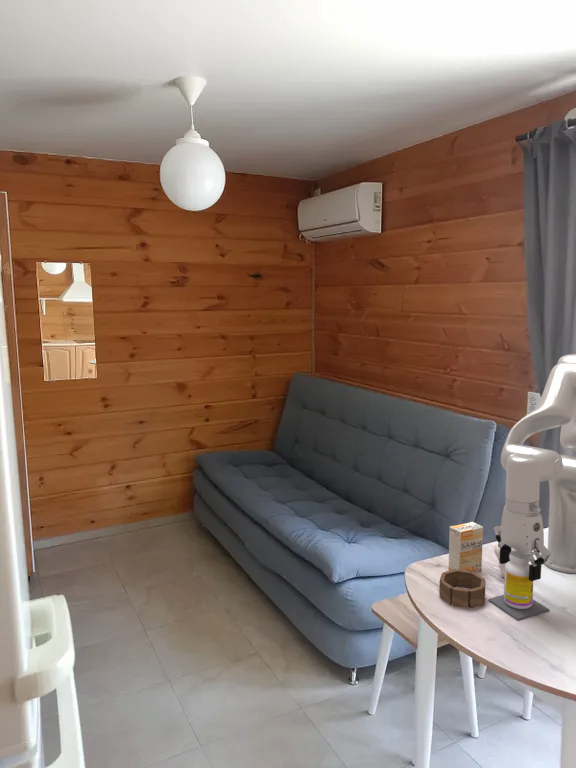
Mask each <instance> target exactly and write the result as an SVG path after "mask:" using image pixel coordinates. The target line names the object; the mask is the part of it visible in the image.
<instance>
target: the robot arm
mask: <svg viewBox="0 0 576 768" xmlns="http://www.w3.org/2000/svg"><path fill="white" fill-rule="evenodd" d="M542 391H543V392H542V394H541V397H540V399H539V403H538V406H537V408H536V409H534V410H532V411H531V412H529V413H528V414H526V415H525V416H524V417H522V418H521V419H520V420H519V421H517V422H516V423H515V424H514V425H513V426H512V427H511V429H510V431H509V432H508V434H507V437H506V439H505V442H504V445H503V448H502V450H501V455H500V465H501V467H502V468H503V469H504V471H506V475H505V476H506V479H505V482H506V483H505V502H504V503H505V504H504V506H503V511H502V515H501V516H502V517H501V522H500V525H496V526H494V527H493V531H494V534H495V539H496V542H497V541H498V547H499V548H500V563H501V564H504V563H507V562H508V561H510V558H509V555H510V552H511V548H513V549H515V550H517V551H519V552H521V553H523V554H525V555H527V556H528V558H529V560H530V561H529V563H530V565H529V580H530V581H533V582H534V581H538V580H541V578H542V566H543V565H545V566H546V567H548V568H550V569H552V570H555V571H557V572H563V573H566V574H567V573H568V574H576V456H575V455H569V454H568V455H567V454H559V453H558V452H557V451H555V450H551V449H547V448H541V447H536V446H530V445H525V444H524V443H525V441H526V440H527V439H528V438H530V437H531V436H532V435H535V434H537V433H540V432H543V431H547V430H551V429H555V428H559V427H561V429H560V434H559V436H560V437H559V443H560V446H561V447H562V448H564V450H567V451H571V452H576V353H573V354H565V355H563V356H561V357H559V359H558V361H557V364H555V365H554V366H553V367H552V369H551V370H550V372H549V376H548V378H547V382H546V384H545V386H544V390H542ZM542 482H548V486H549V509H548V510H549V511H548V512H549V513H548V530H547V532H548V533H547V534H548V535H547V547H546V546H545V535H544V534H545V533H544V531H545V530H544V524H543V517H542V513H540V512H541V511H542V509H541V507H540V485H541V484H540V483H542ZM534 556H535V557H534Z"/></svg>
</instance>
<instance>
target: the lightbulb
mask: <svg viewBox="0 0 576 768" xmlns="http://www.w3.org/2000/svg"><path fill="white" fill-rule="evenodd" d="M493 549H494V554H495V557H496V558H497V560H498V564H499V565H498V566H499V570H500V571H499V572H500V576H501V577H503V578H504V579H505V565H506V563H504V564H501V563H500V548H499V547H498V541H497V540H496V542H495V544H494V547H493ZM512 551H517V550H515V549H513V548H511V552H512Z"/></svg>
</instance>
